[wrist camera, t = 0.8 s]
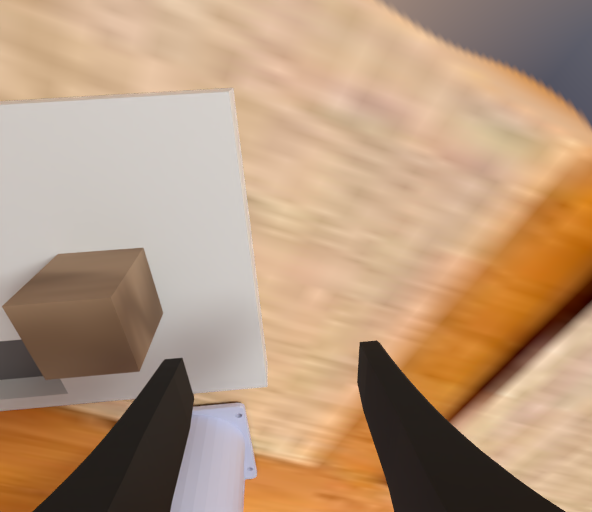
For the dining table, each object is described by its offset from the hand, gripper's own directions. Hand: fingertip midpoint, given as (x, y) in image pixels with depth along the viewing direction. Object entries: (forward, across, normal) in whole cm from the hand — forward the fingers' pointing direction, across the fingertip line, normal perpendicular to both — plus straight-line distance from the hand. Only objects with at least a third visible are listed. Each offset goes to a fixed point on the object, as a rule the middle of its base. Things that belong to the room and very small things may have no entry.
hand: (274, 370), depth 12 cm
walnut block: (+6, +8, 0) cm, 10 cm away
